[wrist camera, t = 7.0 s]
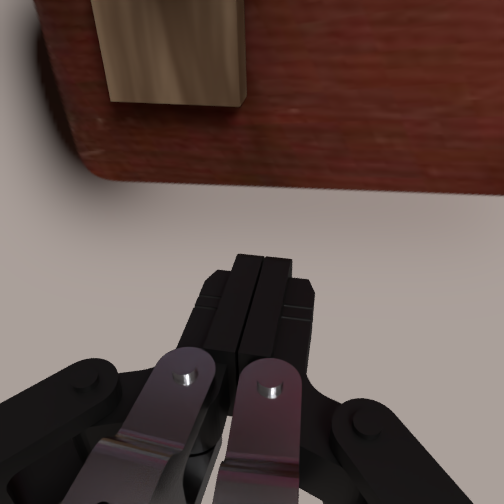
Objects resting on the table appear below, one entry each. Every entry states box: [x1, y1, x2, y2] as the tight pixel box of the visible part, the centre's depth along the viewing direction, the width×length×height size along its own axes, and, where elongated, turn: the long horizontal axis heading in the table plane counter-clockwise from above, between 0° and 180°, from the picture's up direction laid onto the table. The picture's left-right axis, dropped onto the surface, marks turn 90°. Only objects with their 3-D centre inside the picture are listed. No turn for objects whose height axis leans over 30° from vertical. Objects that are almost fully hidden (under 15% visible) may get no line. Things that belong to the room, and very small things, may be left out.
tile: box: [91, 0, 247, 107], centre depth 34 cm, size 3×9×10 cm
